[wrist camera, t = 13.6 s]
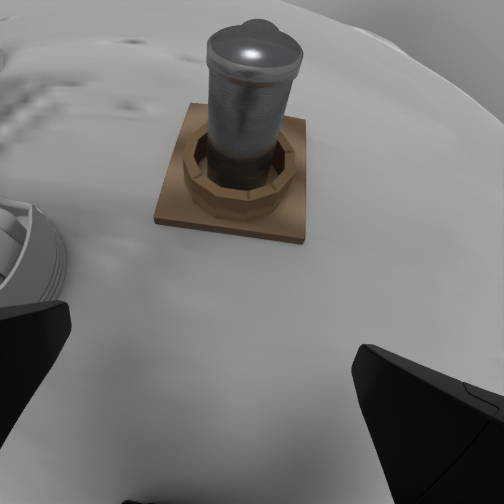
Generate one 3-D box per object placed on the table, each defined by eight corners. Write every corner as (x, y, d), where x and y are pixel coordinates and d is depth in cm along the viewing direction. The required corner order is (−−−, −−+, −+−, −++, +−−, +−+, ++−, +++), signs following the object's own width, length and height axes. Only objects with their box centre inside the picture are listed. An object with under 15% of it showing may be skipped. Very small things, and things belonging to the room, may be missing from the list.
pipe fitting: (265, 208, 26) (305, 74, 14) (199, 199, 25) (197, 60, 14) (271, 140, 29) (301, 19, 17) (214, 132, 29) (223, 7, 17)
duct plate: (301, 244, 26) (316, 220, 22) (155, 223, 25) (147, 195, 22) (303, 126, 32) (312, 98, 28) (190, 109, 31) (190, 80, 27)
